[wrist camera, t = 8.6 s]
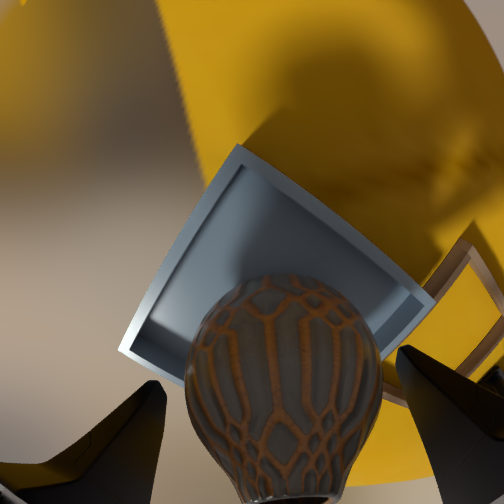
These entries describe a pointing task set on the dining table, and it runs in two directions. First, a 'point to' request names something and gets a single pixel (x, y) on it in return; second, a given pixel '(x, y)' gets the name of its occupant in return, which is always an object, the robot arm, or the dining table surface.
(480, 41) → the dining table surface
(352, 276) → the slate tray
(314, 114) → the dining table surface
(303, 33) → the dining table surface
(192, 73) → the dining table surface
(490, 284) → the walnut frame
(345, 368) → the vase
